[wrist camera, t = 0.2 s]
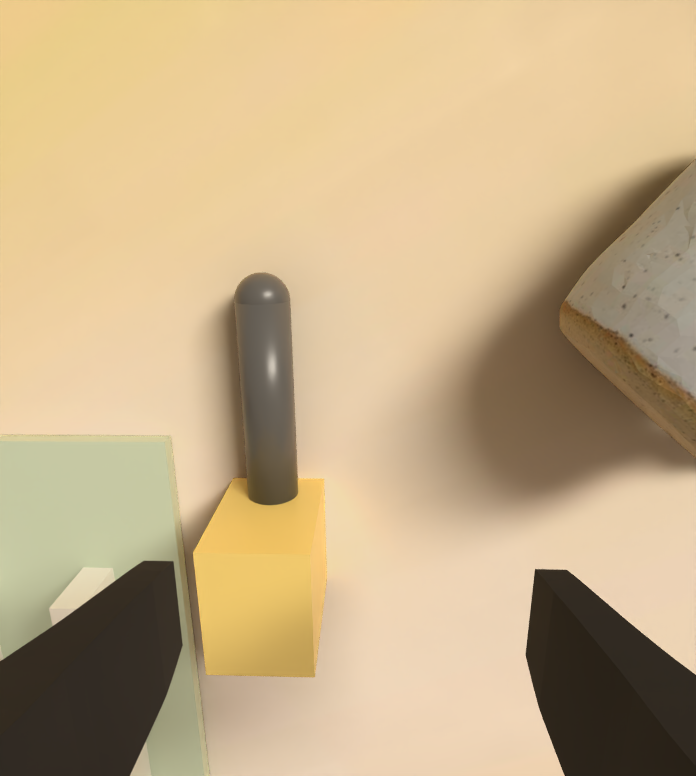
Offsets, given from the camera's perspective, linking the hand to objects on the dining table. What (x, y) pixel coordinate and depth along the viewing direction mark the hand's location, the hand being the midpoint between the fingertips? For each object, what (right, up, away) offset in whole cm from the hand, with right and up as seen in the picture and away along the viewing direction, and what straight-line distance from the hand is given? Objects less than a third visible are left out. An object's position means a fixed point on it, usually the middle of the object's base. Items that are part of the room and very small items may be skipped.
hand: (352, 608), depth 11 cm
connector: (-3, +2, +10) cm, 10 cm away
